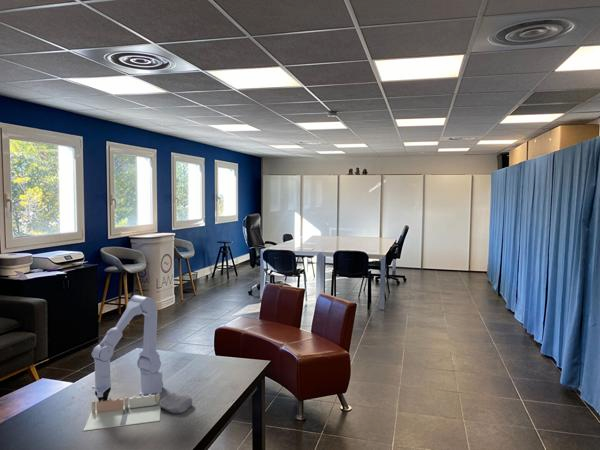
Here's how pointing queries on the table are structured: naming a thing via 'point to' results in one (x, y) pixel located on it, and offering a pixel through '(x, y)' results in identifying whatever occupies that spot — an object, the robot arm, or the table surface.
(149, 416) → the card
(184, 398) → the stone block
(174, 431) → the table surface
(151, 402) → the fence fixed
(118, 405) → the fence panel
